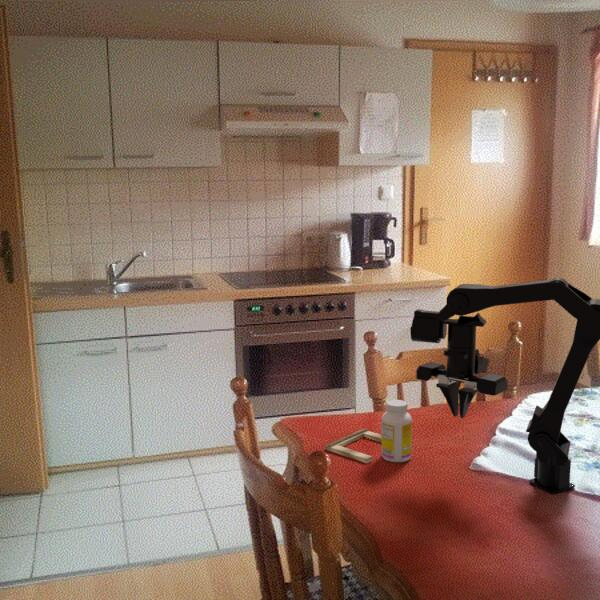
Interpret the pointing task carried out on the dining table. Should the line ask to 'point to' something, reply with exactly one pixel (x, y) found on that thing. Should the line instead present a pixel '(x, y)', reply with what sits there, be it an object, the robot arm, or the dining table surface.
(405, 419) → the supplement bottle
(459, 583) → the dining table surface
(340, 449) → the frame
